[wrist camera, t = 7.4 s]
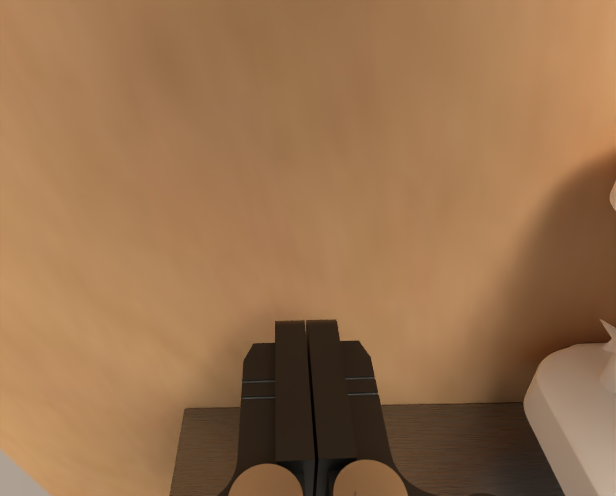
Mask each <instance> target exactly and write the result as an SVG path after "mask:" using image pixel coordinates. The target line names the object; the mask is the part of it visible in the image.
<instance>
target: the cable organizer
mask: <svg viewBox="0 0 616 496" xmlns="http://www.w3.org/2000/svg"><path fill="white" fill-rule="evenodd" d="M610 203H611V205H612V206H613V208H614V210H615V211H616V181H615V184H614V186H613V188H612V190H611V193H610ZM600 321H601V322H602V324H603V325H604V327H605V328H606V330H607V332H608V333H609V335H610V336H611V338H612V339H611V340H610V341H609V342H608V343H587V344H576V345H572V346H570V347H569V348H565V349H561V350H558V351H556V352H554V353H552V354H550V355H548V356H547V357H546V358H544V359H543V360H542V362H541V363H540V364H539V366H538V368H537V370H536V373H535V375H534V377H533V379H532V381H531V384H530V386H529V388H528V390H527V392H526V395H525V397H524V403H523V404H524V411H525V414H526V417H527V419H528V421H529V423H530V425H531V427H532V429H533V431H534V433H535V435H536V437H537V439H538V441H539V444H540V446H541V448H542V450H543V452H544V454H545V456H546V458H547V460H548V462H549V464H550V466H551V468H552V470H553V472H554V474H555V476H556V478H557V480H558V482H559V484H560V486H561V488H562V490H563V492H564V494H565V496H616V328H615V327H613V326H611V325H610V324H608V323H606V322H604V321H603V320H601V319H600Z"/></svg>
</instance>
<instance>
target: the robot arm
mask: <svg viewBox="0 0 616 496" xmlns="http://www.w3.org/2000/svg"><path fill="white" fill-rule="evenodd" d="M217 496H438V495H434V494H431V493H428V492H425V491H423V490H421V489H419V488H417V487H415V486H414V485H412V484H411V483H410V482H409V481H407V480H406V479H405V478H404V477H403V476H402V474H401V473H400V472H399V470H398V469H397V467H396V466H395V463H394V461H393V459H392V455H391V451H390V446H389V442H388V437H387V432H386V428H385V423H384V418H383V414H382V409H381V404H380V399H379V396H378V390H377V385H376V381H375V378H374V371H373V367H372V362H371V357H370V356H369V354H368V353H367V352H366V350H365V349H364V348H363V346H362V345H361V344H360V342H359V341H340V338H339V332H338V325H337V321H336V320H307V321H306V332H305V321H304V320H301V321H275V343H255V344H253V345H252V347H251V349H250V351H249V352H248V354H247V356H246V357H245V359H244V362H243V378H242V393H241V408H240V423H239V439H238V454H237V464H236V469H235V472H234V475H233V477H232V479H231V480H230V482H229V483H228V485H227V486H226V487H225V489H224V490H223V491H222V492H221V493H220V494H218V495H217ZM469 496H496V495H492V494H488V493H475V494H472V495H469Z"/></svg>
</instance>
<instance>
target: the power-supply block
mask: <svg viewBox="0 0 616 496" xmlns="http://www.w3.org/2000/svg"><path fill="white" fill-rule="evenodd" d="M381 409H382V414H383V418H384V423H385V428H386V432H387V437H388V442H389V446H390V451H391V455H392V459H393V461H394V463H395V466H396V467H397V469H398V470H399V472H400V473H401V474H402V476H403V477H404V478H405V479H406V480H407V481H409V482H410V483H411V484H412V485H414V486H415V487H417V488H419V489H421V490H423V491H425V492H428V493H431V494H434V495H438V496H469V495H472V494H475V493H488V494H492V495H496V496H565V494H564V492H563V490H562V488H561V486H560V484H559V482H558V480H557V478H556V476H555V474H554V472H553V470H552V468H551V466H550V464H549V462H548V460H547V458H546V456H545V454H544V452H543V450H542V448H541V446H540V444H539V441H538V439H537V437H536V435H535V433H534V431H533V429H532V427H531V425H530V423H529V421H528V419H527V417H526V414H525V411H524V404H523V403H491V404H434V405H381ZM239 423H240V408H205V409H185V410H184V416H183V422H182V427H181V433H180V439H179V445H178V450H177V456H176V462H175V467H174V473H173V479H172V484H171V490H170V496H217V495H218V494H220V493H221V492H222V491H223V490H224V489H225V487H226V486H227V485H228V483H229V482H230V480H231V479H232V477H233V475H234V472H235V469H236V464H237V454H238V439H239Z"/></svg>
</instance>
